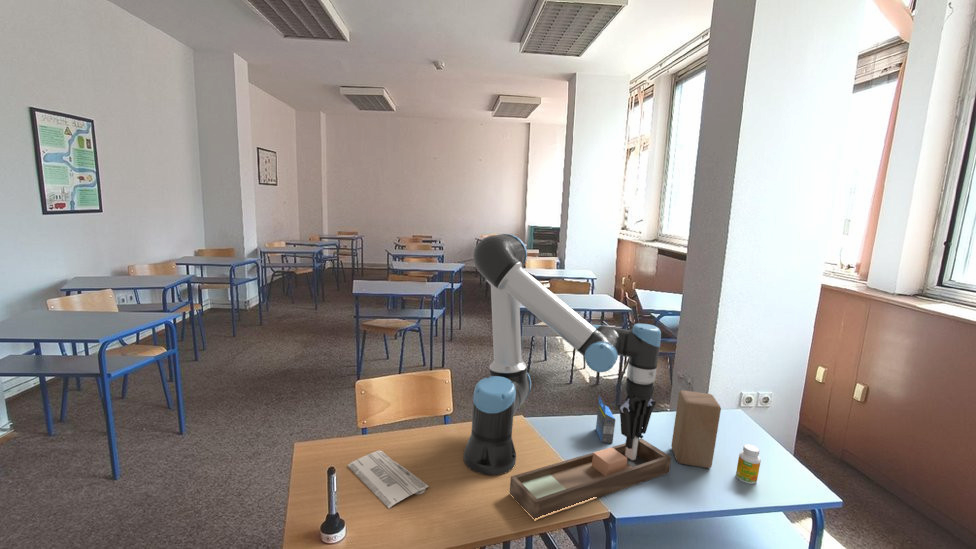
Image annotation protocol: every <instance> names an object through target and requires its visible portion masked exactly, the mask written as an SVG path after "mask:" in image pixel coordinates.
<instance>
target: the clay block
mask: <svg viewBox="0 0 976 549" xmlns="http://www.w3.org/2000/svg"><path fill="white" fill-rule="evenodd" d="M612 447H613V446H611V447H608V448H604V449H601V450H597V451H593V452H592V453H593V459H592V466H593V467H594V468H595V469H597V470H598V471H599V472H601V473H602V474H603V475H604V476H607V475H610V474H613V473H616V472H619V471H622V470H625V469H626V465H627V457H625V456H624V455H622V454H621V453H619V452H618V451H616V450H615V449H614V448H612Z"/></svg>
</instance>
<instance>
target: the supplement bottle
mask: <svg viewBox="0 0 976 549" xmlns="http://www.w3.org/2000/svg"><path fill="white" fill-rule="evenodd" d="M759 455H760V448H758V447H757V446H756V445H753V444H749V443H748V444H747V443H746V444H743V448H742V450H741V451H740V452H739V455H738V460H737V465H736V466H737V467H736V472H735V477H736V478H737V479H738V480H739V481H741V482H743V483H744V484H748V485H749V484H750V485H754V484H757V481H758V478H759V472H760V467H761V461H762V459H761V457H760V456H759Z"/></svg>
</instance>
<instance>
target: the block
mask: <svg viewBox="0 0 976 549" xmlns="http://www.w3.org/2000/svg"><path fill="white" fill-rule="evenodd" d="M678 392H679V393H678V398H677V405H676V412H675V417H674V418H675V419H674V425H673V430H672V431H673V433H672V438H671V449H672V452H673V454H674V457H675V459H676V462H677V463H678V464H681V465H687V466H692V467H698V468H699V467H700V468H704V469H712V465H713V460H714V455H715V449H716V442H717V436H718V431H719V422H720V416H721V410H722V407H721V406H720V404H719V402H718V401H717V400H716V398H715V397H714V395H713V394H711V393H705V392H697V391H691V390H685V389H684V390H683V389H682V390H680V391H678Z"/></svg>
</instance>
